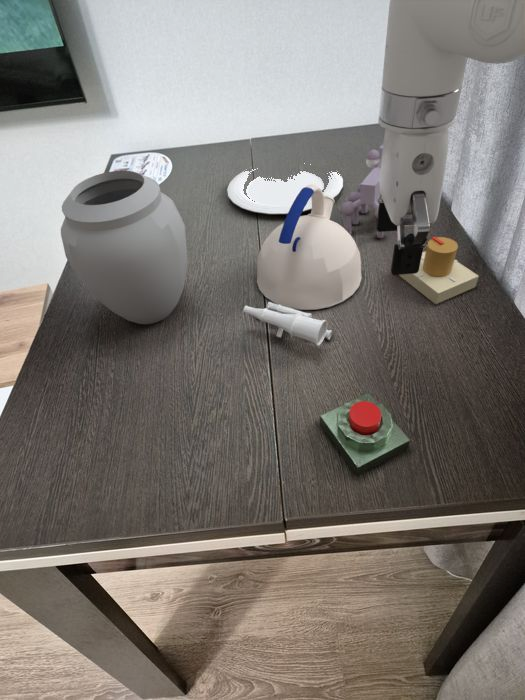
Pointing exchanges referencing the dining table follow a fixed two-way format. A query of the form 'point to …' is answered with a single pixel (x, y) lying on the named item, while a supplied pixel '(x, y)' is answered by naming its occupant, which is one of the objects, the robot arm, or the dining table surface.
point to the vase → (126, 244)
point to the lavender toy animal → (365, 193)
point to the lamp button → (364, 417)
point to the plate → (278, 191)
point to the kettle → (309, 257)
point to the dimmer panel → (442, 282)
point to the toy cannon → (292, 322)
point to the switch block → (363, 437)
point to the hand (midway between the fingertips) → (395, 250)
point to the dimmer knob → (440, 256)
